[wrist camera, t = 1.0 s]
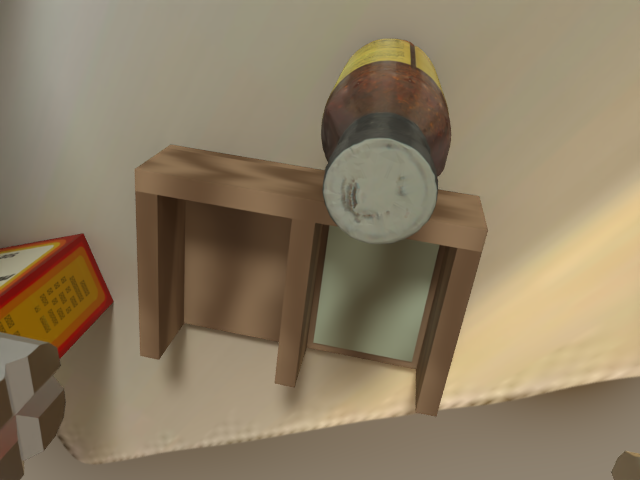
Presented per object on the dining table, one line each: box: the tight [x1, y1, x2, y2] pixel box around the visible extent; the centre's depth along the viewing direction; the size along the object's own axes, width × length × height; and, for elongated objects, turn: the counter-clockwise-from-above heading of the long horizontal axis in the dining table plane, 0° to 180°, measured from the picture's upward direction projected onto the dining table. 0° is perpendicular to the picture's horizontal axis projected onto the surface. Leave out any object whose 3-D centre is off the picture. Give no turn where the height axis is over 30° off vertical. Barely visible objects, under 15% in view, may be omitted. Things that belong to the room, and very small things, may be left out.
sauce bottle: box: [321, 39, 451, 244], centre depth 28 cm, size 7×6×20 cm
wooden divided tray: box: [135, 145, 488, 416], centre depth 41 cm, size 22×15×6 cm, turn 83°
